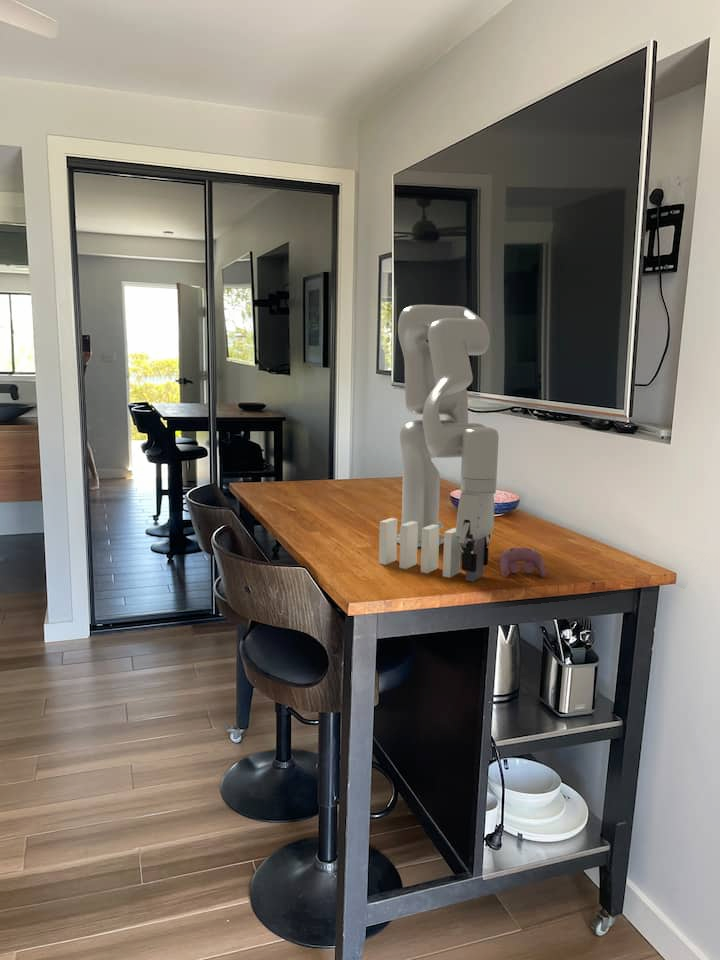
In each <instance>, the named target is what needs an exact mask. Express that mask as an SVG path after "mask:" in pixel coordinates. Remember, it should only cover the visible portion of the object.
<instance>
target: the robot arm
mask: <svg viewBox="0 0 720 960" xmlns="http://www.w3.org/2000/svg"><path fill="white" fill-rule="evenodd" d="M397 335H398V341H399V344H400V349H401V351H402V355H403V361H404V362H403V363H404V396H405V397H404V399H405V406H406V409H407V411H408V412H409V413H411V414H414V415H422V419H419V420H418V419H416V420H413V421H409V422H406V423H405V424H404V425H403V426H402V427H401V429H400V433H399V443H400V449H401V457H402V458H401V460H402V488H401V489H402V490H401V491H402V494H401V495H402V498H401V525H402V524H405V523H407V522H410V521H414V522H418V543H417V548H421V544H422V528H424V527H427V526H429V525H432V524H434V525H440V526H439V530H441V529H443V528H444V523H443V522H442V521H439V519H440V517H439V516H440V514H439V511H440V486H441V483H440V482H441V477H440V473H439V470H438V468H437V467H436V466H435V464H434V463H433V461H432V459H434V458H446V459H447V458H451V459H452V458H461V467H460V468H461V471H460V473H461V474H460V495H459V500H458V501H459V502H458V507H457V512H456V513H457V514H456V515H457V516H456V526H455V528H456V537H457V538H459V543H460V545H461V570H462V571H465V572H466V571H470V572H475V571H476V564H477V554H475V551H476V545H477V540H479V539H481V538H483V537H485V546H484V566H488V563H489V547H490V538H491V534H492V533H493V531H494V525H495V496H494V495H496V493H497V477H498V461H499V460H498V458H499V456H498V455H499V432H498V430H496V429H495V428H492V427H487V426H485V425H484V424H482V423H475V422H473V423H472V422H471V423H469V397H468V390H467V388H468V387H469V386H470V385H471V384H472V383H473V379H474V377H473V372H472V366H471V362H470V358H469V356H481V355H484V354H485V353H486V352H487V350H488V348H489V346H490V340H491V339H490V338H491V337H490V332H489V328H488V326H487V324H486V322H485V321H484V320H483V319H482V318H481V317H480V316H479V315H477V314H476V313H475V312H473V310H470V309H469V308H468V307H465V306H459V305H440V304H438V305H437V304H414V305H409V306H407V307H405V308H403V309H402V311H401V312H400V313H399V317H398V323H397ZM440 415H442V416H443V415H444V417H445V419H441V417H440ZM468 536H473V537H472V538H473V539H470V538H468ZM468 541H469V542H472V546H471V544H470V543H468ZM397 544H399V545H400V533H397ZM442 544H443V545H444V536H442V535H440V534H439V546H441V545H442Z"/></svg>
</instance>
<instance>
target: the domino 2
mask: <svg viewBox="0 0 720 960" xmlns="http://www.w3.org/2000/svg"><path fill="white" fill-rule="evenodd" d="M399 528H400V529H399V531H400V532H399V534H400V544H399V569H404V570H408V569H409V568H412V567H413V566H416V565H418V547H417V543H418V522H414V521H410V522H407V523H405V524H402V523H401V524H400V527H399Z"/></svg>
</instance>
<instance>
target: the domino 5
mask: <svg viewBox="0 0 720 960" xmlns="http://www.w3.org/2000/svg"><path fill="white" fill-rule="evenodd" d="M472 537H473V536H468V538H470V539H473V538H472ZM468 543H470V544H471V546H472V542H469V541H468ZM484 546H485V537H483V538H481V539H479V540H477V545H476V551H475V554H477V564H476V571H475V572H470V571H465V581H466V582H467V581H468V582H473V583H474V582H476V581H477V580H479V579H481V578H482V577H483V576H484V566H485V565H484ZM475 580H476V581H475Z"/></svg>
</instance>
